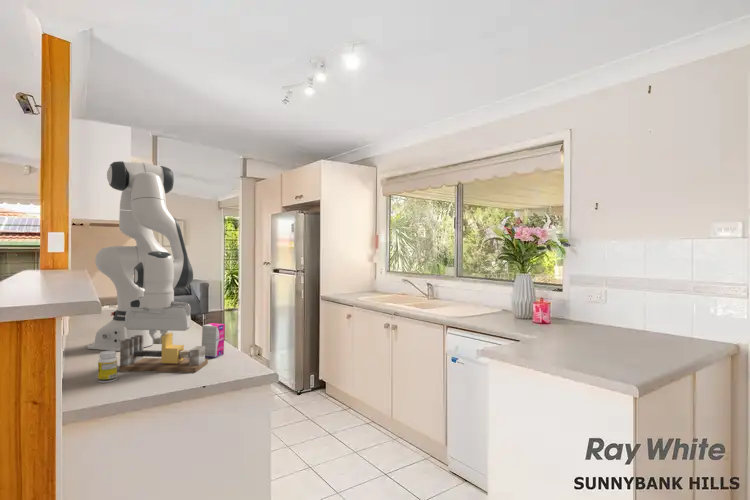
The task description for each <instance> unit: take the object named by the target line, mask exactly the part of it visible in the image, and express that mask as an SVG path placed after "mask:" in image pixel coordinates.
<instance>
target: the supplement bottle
mask: <svg viewBox="0 0 750 500" xmlns="http://www.w3.org/2000/svg"><path fill="white" fill-rule="evenodd" d="M116 353H117V351H113V350H102V351H100V353H99V359H98V365H97V367H98V368H97V382H98V383H101V384H105V383H106V384H107V383H113V382H115V381H117V380H118V358H117V357H116V356H117V354H116Z"/></svg>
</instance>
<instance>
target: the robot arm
mask: <svg viewBox="0 0 750 500" xmlns="http://www.w3.org/2000/svg"><path fill="white" fill-rule="evenodd" d="M106 179H107V181H108V185H109V186H110V187H111V188H112V189H113V190H116V191H121V196H120V200H119V201H120V202H119V216H118V218H119V219H118V222H119V224H118V228H119V231H120V233H122V234H123V235H125V236H126V237H129V238H131V239H134V240H135V243H136V245H133V246H132V245H131V246H129V245H128V246H127V245H123V246H122V245H114V246H107V247H103V248H101V249H99V251H98V252H97V253H96V256H95V258H94V259H95V260H94V261H95V266H96V268H97V269H98V271H100V272H101V274H103V275H105V276H107V278H109V280H110V281H112V284H113V285H114V288H115V290H116V295H117V296H116V297H117V298H116V300H117V309H116V310H115V311H113V312H110V315H109V316H111V317H112V316H113V317H112V320H111V321H109V322H107V323H106V324H105V325H103V326H102V327H101V328H99V329H98V330H97V332H95V338H94V341H93V342H91V343H89V344H88V345H87V348H86V349H89V350H99V351H100V350H101V351H110V350H112V351H116V352H120V341H122V340H125V339H131V337H135V335H143V348H146V347H150V346H153V345H162V336H163V335H165V334H167V333H169V332H170V331H171V332H172V331H173V332H174V331H176V332H177V331H178V332H179V331H181V332H185V331H188V330H189V329H190V328H191V327H192V317H191V312H192V311H191V310H192V307H191V305H190V304H189V303H187V301H175V290H179V289H180V290H185V289H186V288H187V287H189V285H190V284H192V282H193V281H194V272H193V266H192V264H191V263H190V259H189V257H188V252H187V249H186V245H185V241H184V236H183V233H182V230H181V227H180V224H179V221H178V220H177V218H176V217H174V216H173V215H172V214H171V213H170V211H169V210H168V207H167V206H168V205H167V198H166V194H168V193H170V192H171V191H172V190H173V188H174V185H175V177H174V172H173V171H172V169H170V167H167V166H163V165H161V166H159V165H156V164H152V163H147V162H146V163H145V162H141V163H140V162H131V161H130V162H127V161H125V162H124V161H122V160H121V161H119V160H118V161H113V162H111V164H110V165H109V167H108V168H107V171H106ZM154 232H157V233H159V234H161V235H163V236H164V237H165V238H166V239H167V240H168V242H169V245H170V248H171V253H172V254H171V253H170V252H169V251H168V250H167V249H166V248H165V247H163V246H162V245H161V244H160V243H159V242H158V241H157V238H156V237H155V235H154V234H155V233H154ZM157 331H160V332H159V333H160V334H161V335H160V337H158V336H157V334H156V333H157ZM168 331H169V332H168Z"/></svg>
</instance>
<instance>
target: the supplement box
mask: <svg viewBox="0 0 750 500" xmlns="http://www.w3.org/2000/svg"><path fill="white" fill-rule="evenodd" d="M225 328H226V324H225V323H219V322H218V323H216V322H210V323H207V324H204V325H202V328H201V329H202V332H201V346H205V359H208V358H209V359H216V358H219V357H220V356H221V357H222V356H223V355H224V354H225V352H224V351H225V333H226V331H225Z"/></svg>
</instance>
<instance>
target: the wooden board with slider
mask: <svg viewBox="0 0 750 500" xmlns="http://www.w3.org/2000/svg"><path fill="white" fill-rule="evenodd" d="M179 358H184V360H182V361H180V362H179V363H161V359H162V350H152V349H151V350H148V349H147V350H144V347H143V335H135V337H131V339H125V340H122V341H120V351H119V366H118V372H140V371H141V372H142V371H143V373H145V372H146V371H157V372H156V373H197V372H198V371H200V370H201V369H203V368H204V367H205V366H207V365H208V364H209V360H208V358H206V357H205V346H202V345H195V346H194V347H192V348H190V349H188V350H187V349H186V350H185V349H184V350H182V351H179ZM144 371H145V372H144ZM146 373H147V372H146Z"/></svg>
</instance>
